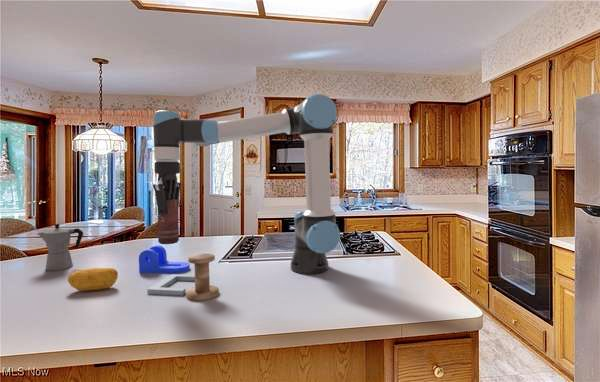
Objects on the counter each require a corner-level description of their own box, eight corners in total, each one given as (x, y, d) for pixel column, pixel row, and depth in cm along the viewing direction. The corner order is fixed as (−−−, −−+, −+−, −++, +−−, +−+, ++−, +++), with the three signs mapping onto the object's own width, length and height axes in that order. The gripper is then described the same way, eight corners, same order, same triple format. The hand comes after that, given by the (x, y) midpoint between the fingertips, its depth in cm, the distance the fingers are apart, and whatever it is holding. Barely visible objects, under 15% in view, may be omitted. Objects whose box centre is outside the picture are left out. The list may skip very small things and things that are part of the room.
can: (172, 245, 101) (171, 200, 100) (154, 244, 102) (153, 199, 101) (183, 240, 107) (182, 198, 106) (166, 239, 108) (165, 197, 107)
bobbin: (223, 289, 108) (222, 253, 107) (211, 301, 98) (210, 261, 98) (194, 288, 110) (193, 252, 109) (180, 300, 100) (178, 260, 99)
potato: (77, 286, 112) (75, 266, 111) (121, 284, 114) (121, 264, 113) (65, 294, 105) (63, 273, 104) (113, 292, 107) (112, 271, 106)
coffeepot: (35, 272, 127) (32, 227, 126) (43, 266, 135) (40, 223, 134) (82, 267, 133) (80, 224, 132) (87, 261, 141) (85, 220, 140)
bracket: (139, 273, 127) (138, 250, 126) (150, 266, 135) (149, 245, 134) (184, 273, 125) (183, 250, 125) (193, 267, 133) (192, 245, 133)
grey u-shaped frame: (202, 279, 118) (202, 275, 118) (182, 295, 103) (182, 290, 103) (171, 278, 120) (171, 274, 120) (147, 293, 105) (147, 289, 105)
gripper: (167, 161, 110) (169, 230, 112) (143, 160, 97) (145, 239, 98) (188, 161, 109) (190, 231, 111) (167, 160, 96) (168, 240, 97)
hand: (169, 235), depth 104 cm, fingers closed
